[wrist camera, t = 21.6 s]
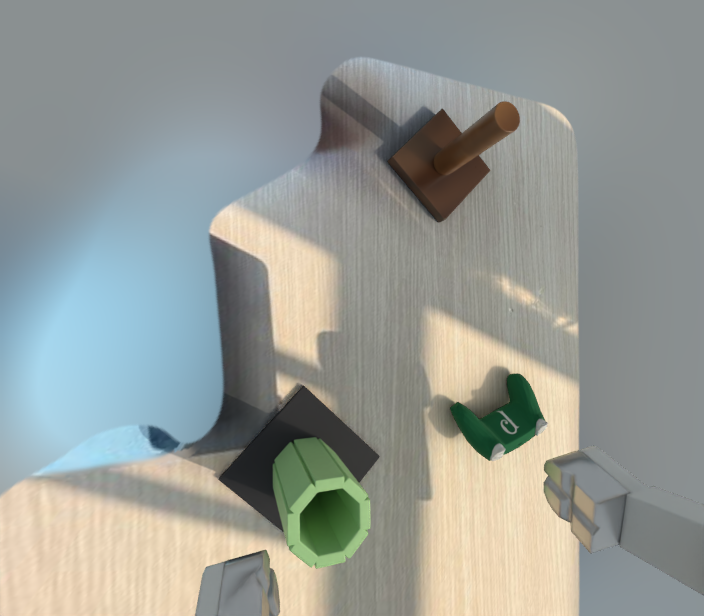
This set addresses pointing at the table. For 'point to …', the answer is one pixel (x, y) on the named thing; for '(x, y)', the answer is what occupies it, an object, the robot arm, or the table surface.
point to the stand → (451, 157)
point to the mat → (288, 425)
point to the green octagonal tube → (319, 503)
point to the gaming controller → (503, 421)
